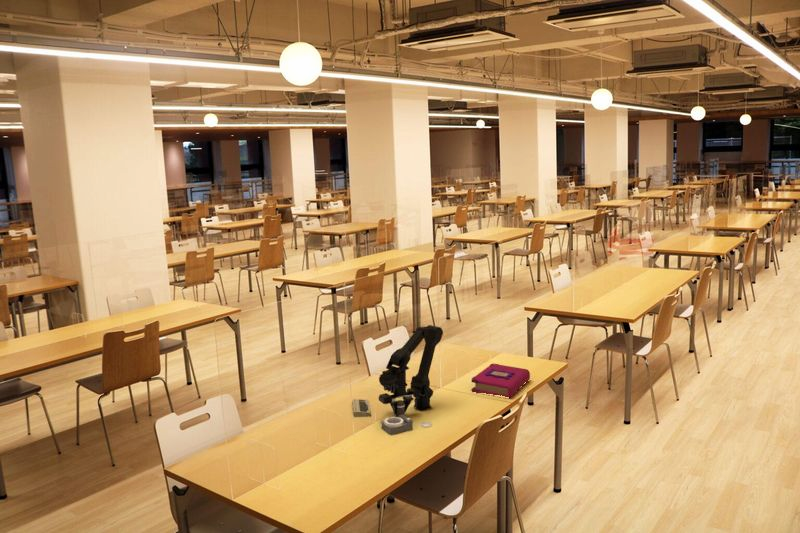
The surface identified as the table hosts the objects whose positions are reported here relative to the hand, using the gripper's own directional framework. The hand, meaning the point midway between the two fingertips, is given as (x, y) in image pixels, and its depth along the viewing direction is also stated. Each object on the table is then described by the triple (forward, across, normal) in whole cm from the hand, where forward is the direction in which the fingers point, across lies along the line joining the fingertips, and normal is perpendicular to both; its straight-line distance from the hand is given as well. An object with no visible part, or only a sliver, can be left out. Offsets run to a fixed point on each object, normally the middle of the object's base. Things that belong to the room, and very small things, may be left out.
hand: (399, 413), depth 309 cm
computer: (+3, +11, -17) cm, 21 cm away
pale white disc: (+2, -6, +13) cm, 15 cm away
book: (+3, -63, -8) cm, 64 cm away
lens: (+2, 0, 0) cm, 2 cm away
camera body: (+2, +7, +10) cm, 12 cm away
